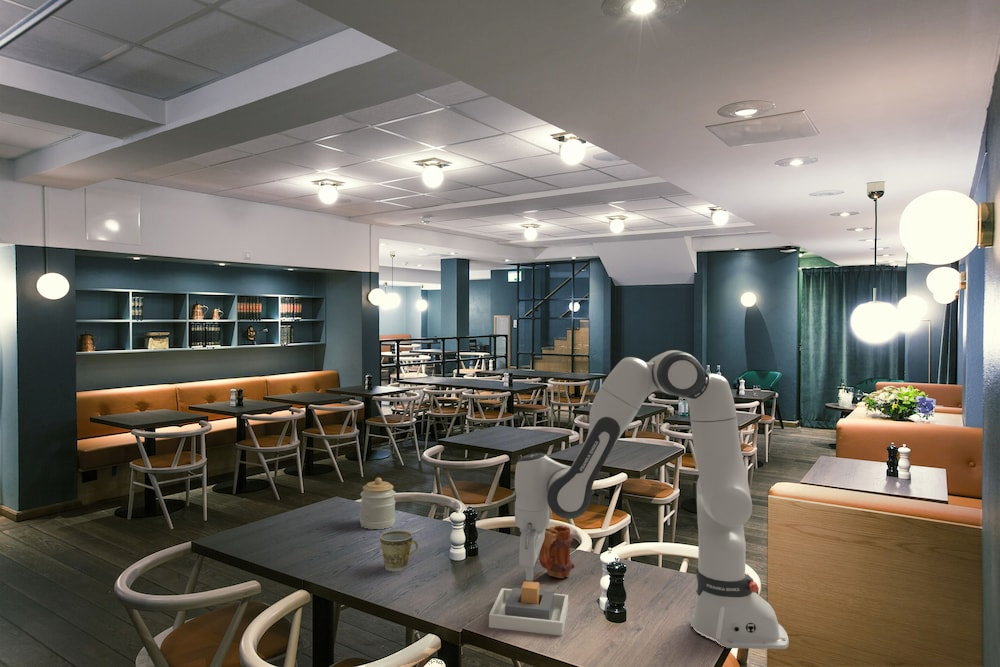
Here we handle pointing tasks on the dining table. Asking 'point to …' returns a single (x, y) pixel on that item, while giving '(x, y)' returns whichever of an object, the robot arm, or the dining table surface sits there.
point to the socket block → (530, 605)
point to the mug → (557, 552)
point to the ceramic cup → (396, 549)
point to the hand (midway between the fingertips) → (532, 572)
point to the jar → (377, 505)
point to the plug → (530, 592)
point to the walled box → (529, 624)
